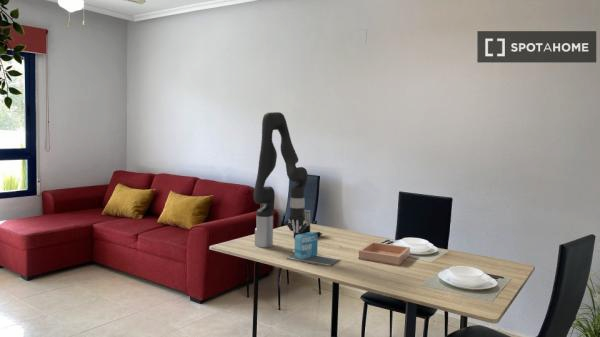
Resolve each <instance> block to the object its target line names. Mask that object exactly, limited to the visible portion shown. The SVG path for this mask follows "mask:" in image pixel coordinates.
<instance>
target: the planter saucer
mask: <svg viewBox="0 0 600 337" xmlns="http://www.w3.org/2000/svg"><path fill="white" fill-rule="evenodd" d="M410 255H411V247H408V246H402V245H396V244H395V245H394V244H387V243H382V242H375V241H371V242H370V243H368V244H367V245H365V246H364V247H362V248H361V249H359V250H358V260H363V261H367V262H368V261H369V262H374V263H380V264H387V265H392V266H401V265H402V263H403V262H405V261H406V260H407V259H408V258H409V257H410Z"/></svg>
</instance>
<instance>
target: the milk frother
mask: <svg viewBox="0 0 600 337" xmlns="http://www.w3.org/2000/svg"><path fill="white" fill-rule="evenodd" d="M311 212H312V210H309V209H305V212H304V218H305V221H306V222H308V223H309V224H308V226H307V227H306V228H305V229H304V231H302V232H300V234H303V233H308V232H311ZM302 226H303V224H302V225H301V228H302ZM312 233H316V234H317V235H318V237H321V236H322V235H323V233H322V232H321V231H317V232H316V231H314V232H312Z"/></svg>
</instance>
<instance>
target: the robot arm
mask: <svg viewBox="0 0 600 337" xmlns="http://www.w3.org/2000/svg"><path fill="white" fill-rule="evenodd" d="M286 120H287V119H286V117H285V115H284V113H282V112H280V111H279V112H277V111H276V112H273V111H272V112H266V113H264V114H263V117H262V120H261V121H262V122H261V142H260V144H261V145H260V151H259V157H258V158H259V159H258V168H257V175H256V179H255V180H256V181H255V185H254V189H253V201H254V202H255V204H256V205H257V204H258V205H260V204H263V206H262V207H260V208H258V209H257V210H256V220H255V221H256V227H255V229H254V246H255V247H258V248H262V249H263V248H272V246H274V245H273V244H274V240H273V239H274V235H273V234H274V211H275V197H276V196H275V195H276V194H275V189H274V187H273V186H271V185H270V186H265V184H266V181H267V179H268V177H269V176H270V175H271V174H272V173H273V171H274V169H275V168H276V165H277V159H278V152H277V150H276V146H275V145H274V142H273V131H278V133H279V135H280V153H281V156H282V159H283V161H284V163H285V169H286V175H287V177H288V180H290V181H291V182H295V183H294V185H292V186H291V187H290V197H289V198H290V199H289V218H288V219H286V220H285V222H284V223H285V224H286V225H287V227H288V228H289V231H290V232H293V239H294V240H295V236H296V235H298V234H300V232H302V231H304V229H305V228H306V227H307V226H308V224H309V223H308V222H306V221H305V218H304V212H305V210H306V209H305V189H306V185H307V182H308V175H309V174H308V171H307V169H306V168H305V167H304V166H300V167H299V166H298V167H297V164H298V162H299V158H298V157H299V156H298V154H297V153H296V150H295V148H294V145H293V142H292V138H291V135H290V131H289V126H288V124H287V121H286ZM302 224H303V226H302V228H301V225H302Z"/></svg>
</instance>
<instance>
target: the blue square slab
mask: <svg viewBox="0 0 600 337" xmlns="http://www.w3.org/2000/svg"><path fill="white" fill-rule="evenodd" d="M318 238H319V236H318V235H317V234H316V233H312V232H311V231H310V232H308V233H303V234H298V235H296V236H295V239H294V254H295V257H296V258H298V259H301V260H303V259H307V258H311V257H315V256H316V255H318V240H319V239H318Z"/></svg>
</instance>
